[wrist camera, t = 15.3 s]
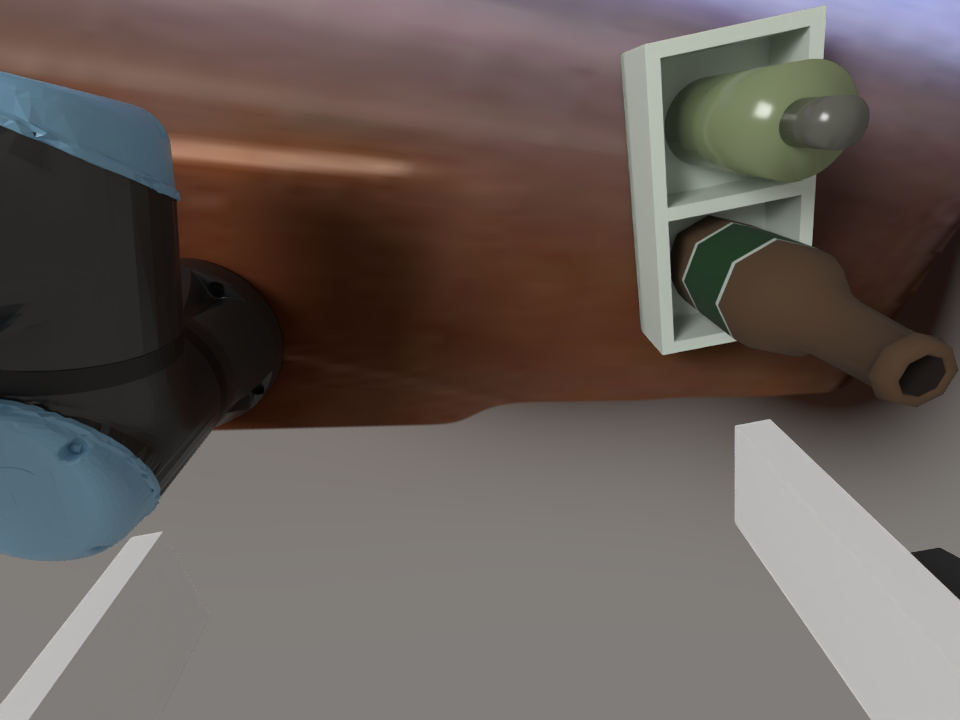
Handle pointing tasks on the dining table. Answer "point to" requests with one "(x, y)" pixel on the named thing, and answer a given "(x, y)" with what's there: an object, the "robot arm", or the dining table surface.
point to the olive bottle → (768, 120)
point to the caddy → (695, 189)
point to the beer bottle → (802, 309)
